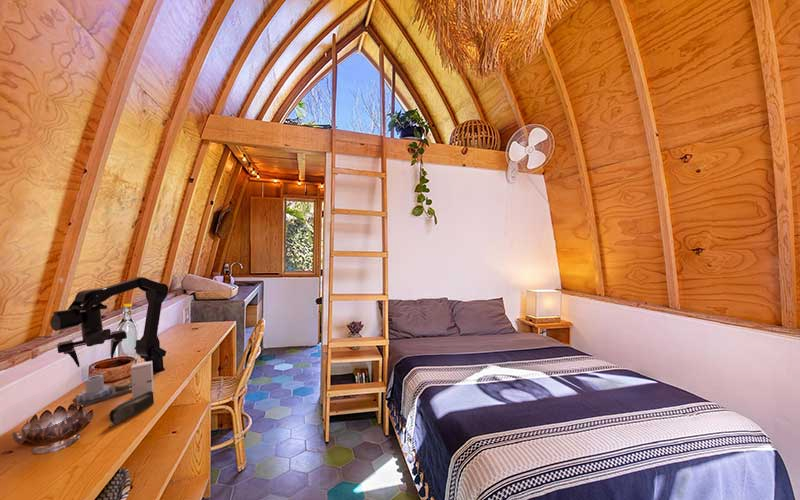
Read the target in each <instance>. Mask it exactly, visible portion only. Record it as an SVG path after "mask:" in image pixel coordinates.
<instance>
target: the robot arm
mask: <svg viewBox="0 0 800 500" xmlns="http://www.w3.org/2000/svg"><path fill="white" fill-rule="evenodd" d="M137 288H138V289H139V290H140V291H143V292H145V299H146V300H147V309H146V315H145V322H144V323H145V324H144V328H143V334H142V336H141V338H140V339H136V340H135V346H134V350H135V354H136V355H138V356H139V357H140V358H141V359H143V362H147V361H152V366H153V374H155V373H158V372H161V371H165V370H166V369H165V367H164V357H166V354H167V350H164V349H163V348H161V344H160V343H161V342H160V338H159V337H158V330H159V325H160V316H161V312H162V304H163V302H164V301H165V300H166V299H167V296H168V293H169V291H170V290H169V286H168V285H167V284H166V283H161V282H158V281H155V280H151V279H149V278H146V277H144V276H138V277H137V276H136V277H133V278H131V279H128V280H124V281H121V282H118V283H116V284H115V283H114V284H111V285H108V286H104V287H99V288H91V289H84V290H80V291H78V292H77V293H76V295H75V297H74V300H73V301H72V303H71V304H70V305H69V306H68V308H67V309H64V310H56V311H53V313H52V314H53V315H52V316H51V318H50V320H49V324H50V327H51V329H52V330H53V331H55V332H59V331H62V330H66V329H72V328H75V327H78V326H80V329H81V336H82V340H77V341H73V340H72V339H70V340H66V341H65V340H64V341H62V342H58V343H57V345H56V348H57V353H58V354H60V353H61V354H63V355H67V354H68V355H69V356H70V358H72V360H73V361H74V363H75V364H76V366H77V367H78V368H80V361H79V358H78V355H77V351H76V349H75V348H76V347H81V346H86V347H90V348H91V347H93V346H97V345H103V344H104V343H105V342H106V341H109V340H110V353H109V354H110V359H113V358H114V356H115V353H116V350H117V347H118V345H119V344H120V342H121V343H122V342H123V340H125V339H127V338H128V336H127V332H126V330H123V329H120V330H115V331H111V328H106V329H104V328H103V320H102V310H104V309H108V306H106V305H105V304H104V303H103V302H105V301H107V300H108V299H109V298H111V297H114V296H116V295H119V294H122V293H127V292H128V291H130V290H135V289H137Z"/></svg>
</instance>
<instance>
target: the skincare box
mask: <svg viewBox="0 0 800 500" xmlns="http://www.w3.org/2000/svg"><path fill="white" fill-rule="evenodd" d="M130 376H131V377H130V379H131V381H132V392H131V395H132V396H131V397H132V398H131V399H133V398H135V397H137V396H139V395H142V394H144V393H146V392H148V391H152V392H153V393H154V391H155V388H154V385H155V384H154V373H153V366H152V361H147V362H144V361H142V362H138V363H132V365H131V367H130Z"/></svg>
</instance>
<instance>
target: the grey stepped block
mask: <svg viewBox="0 0 800 500" xmlns="http://www.w3.org/2000/svg"><path fill="white" fill-rule="evenodd" d="M84 383H85V390H83V391H81V393H78V394H77V395H78V401H81V400H83V401H86V400H90V399H91V400H93V399H95V398H98V397H103V395H106V394H109V393H110V392H111V391H112V385H113V384H109V385H108V384H105V382H104V375H103V374H98V375H97V374H96V375H94V376H90V377H88V378H86V379H85V380H84Z"/></svg>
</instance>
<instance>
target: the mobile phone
mask: <svg viewBox="0 0 800 500" xmlns="http://www.w3.org/2000/svg"><path fill="white" fill-rule="evenodd" d="M154 397H155V396H154V391H153V392H152V391H148V392H146V393H144V394H142V395H139V396H137V397H135V398H133V399H132V398H131V399H129V400H127V401H123V402H122V403H120V404H118V405H116V406H115V407H114V408H113V409H111V410H110V412H109V421H110V423H111V424H110V425H108V428H112V427H114V426H116V425H117V424H119V423H120V422H123V421H125V420H127V419H128V418H130V417H133V416H134V415H136V414H137V413H140V412H141V411H143V410H146V409H147V408H149V407H151V406H152V405H153V404H154V402H155V401H154V400H155V399H154Z"/></svg>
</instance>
